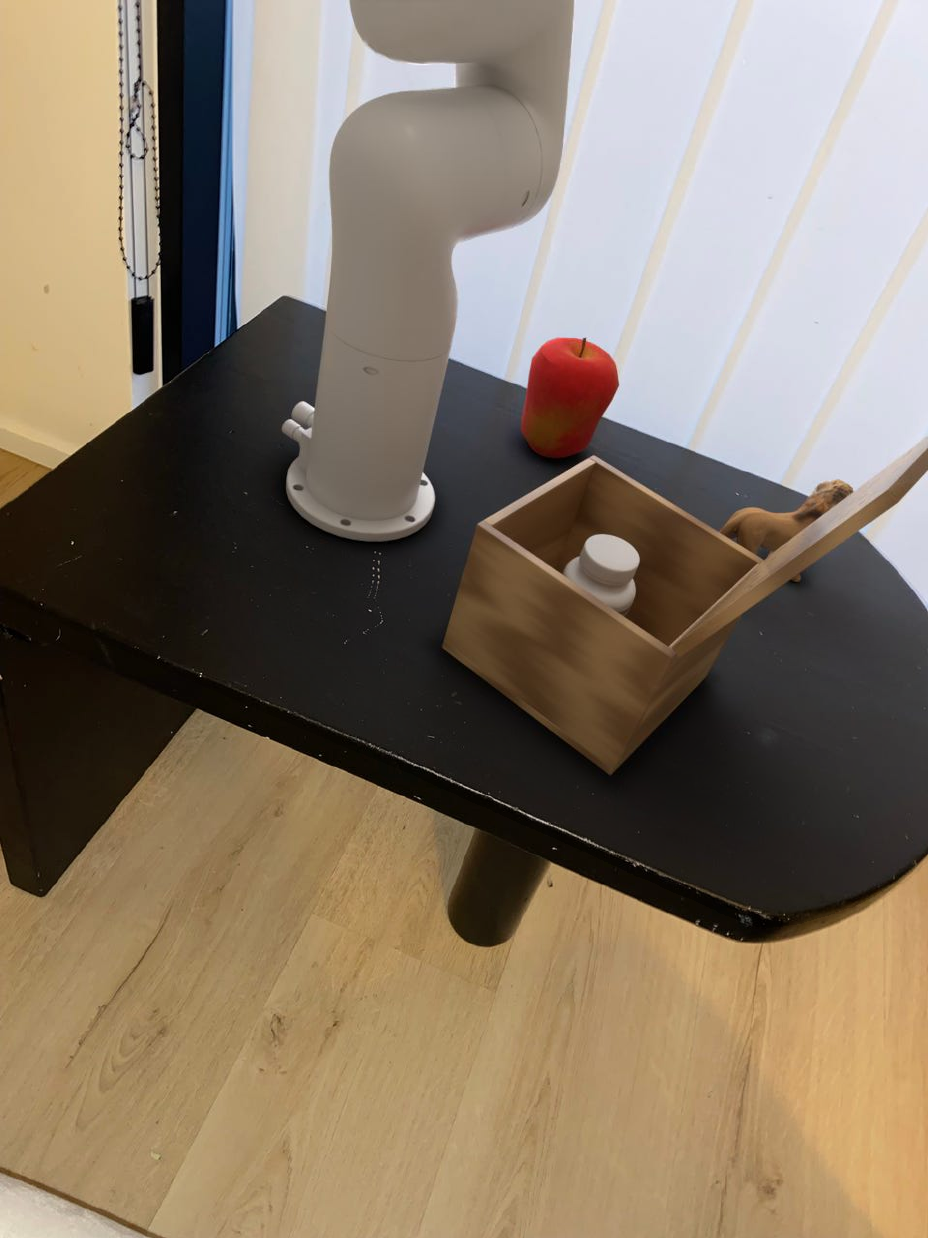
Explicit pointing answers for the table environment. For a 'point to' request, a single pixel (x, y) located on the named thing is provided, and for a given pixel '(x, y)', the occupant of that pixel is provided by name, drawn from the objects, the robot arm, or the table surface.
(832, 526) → the cover
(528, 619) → the case box
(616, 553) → the pill bottle
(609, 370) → the apple
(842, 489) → the lion figurine
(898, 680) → the table surface
